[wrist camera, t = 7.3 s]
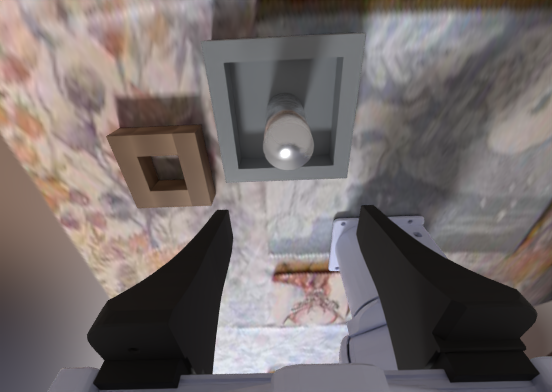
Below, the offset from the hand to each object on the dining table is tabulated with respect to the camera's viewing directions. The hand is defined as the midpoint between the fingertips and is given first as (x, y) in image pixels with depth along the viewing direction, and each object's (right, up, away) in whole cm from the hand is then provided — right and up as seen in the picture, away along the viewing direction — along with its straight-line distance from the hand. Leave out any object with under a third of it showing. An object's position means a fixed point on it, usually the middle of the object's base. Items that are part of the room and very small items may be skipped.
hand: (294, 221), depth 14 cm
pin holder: (-11, +4, +9) cm, 15 cm away
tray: (0, +9, +7) cm, 11 cm away
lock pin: (0, +8, +6) cm, 10 cm away
